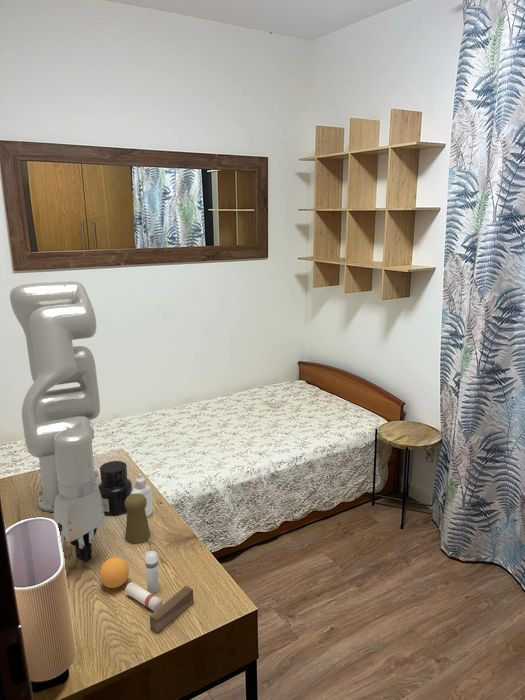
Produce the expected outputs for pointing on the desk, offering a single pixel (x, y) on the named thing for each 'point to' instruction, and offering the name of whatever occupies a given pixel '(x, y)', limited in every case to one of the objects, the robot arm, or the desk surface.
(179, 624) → the desk surface
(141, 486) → the eye dropper bottle
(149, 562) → the rear pin
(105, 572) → the ball
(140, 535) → the olive pawn
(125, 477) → the ink bottle
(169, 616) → the rail
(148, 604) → the front pin
